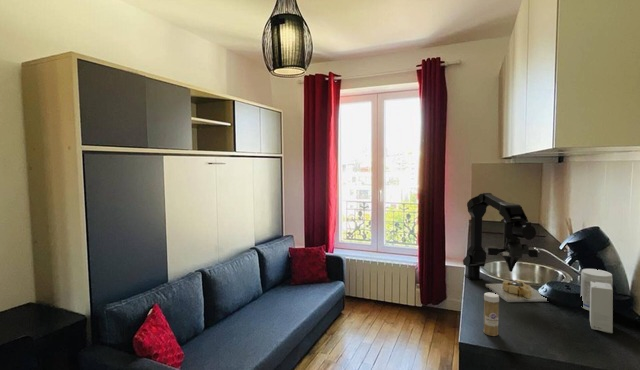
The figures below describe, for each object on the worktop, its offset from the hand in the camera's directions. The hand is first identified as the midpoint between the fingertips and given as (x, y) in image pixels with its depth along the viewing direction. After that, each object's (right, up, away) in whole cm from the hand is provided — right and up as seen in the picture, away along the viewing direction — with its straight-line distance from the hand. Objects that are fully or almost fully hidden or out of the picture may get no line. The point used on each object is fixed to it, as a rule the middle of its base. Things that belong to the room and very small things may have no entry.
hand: (510, 271), depth 142 cm
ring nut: (+6, -10, +5) cm, 13 cm away
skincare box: (+18, -13, -24) cm, 33 cm away
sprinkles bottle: (-22, -14, -27) cm, 38 cm away
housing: (+6, -11, +7) cm, 15 cm away
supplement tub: (+28, -12, -10) cm, 32 cm away
